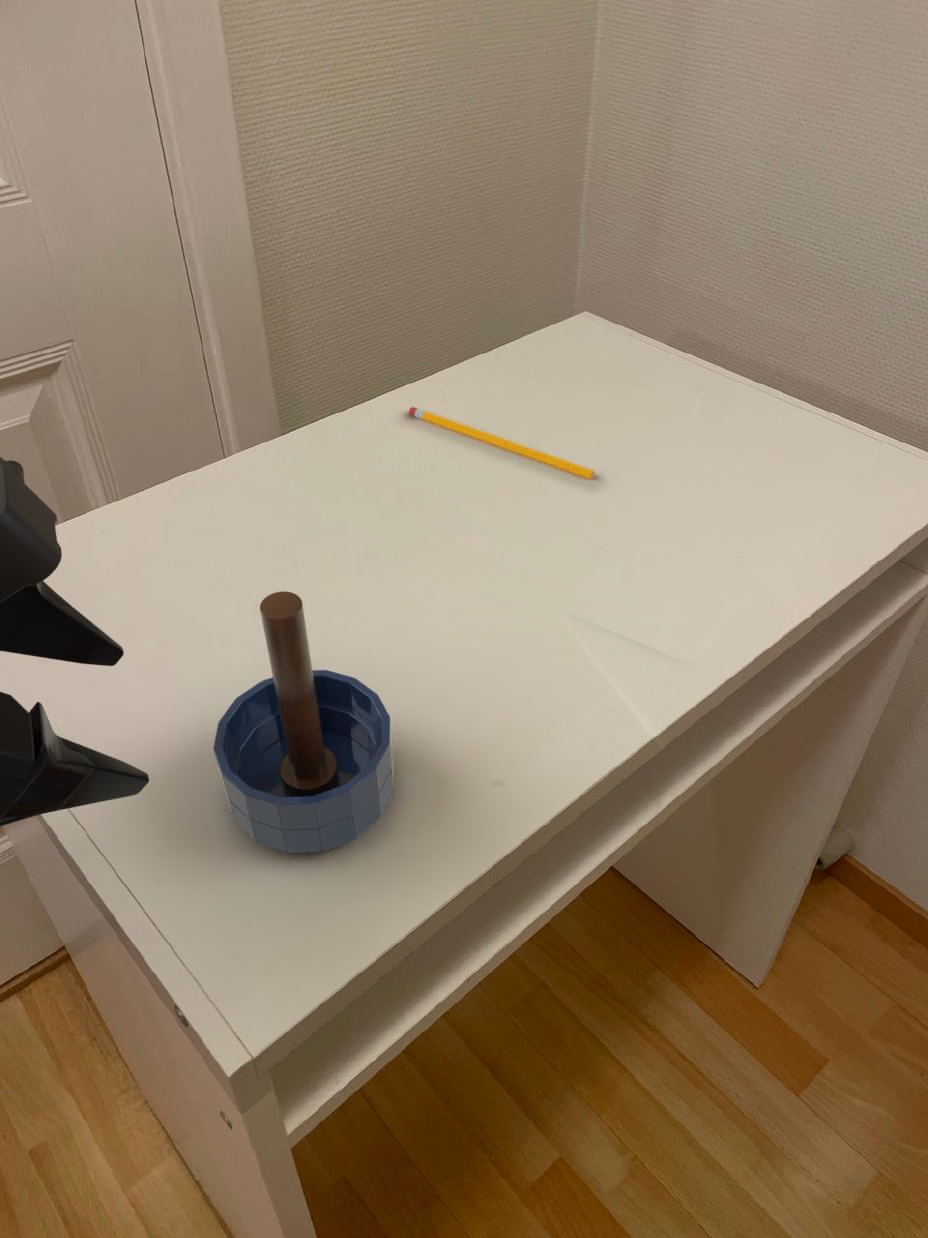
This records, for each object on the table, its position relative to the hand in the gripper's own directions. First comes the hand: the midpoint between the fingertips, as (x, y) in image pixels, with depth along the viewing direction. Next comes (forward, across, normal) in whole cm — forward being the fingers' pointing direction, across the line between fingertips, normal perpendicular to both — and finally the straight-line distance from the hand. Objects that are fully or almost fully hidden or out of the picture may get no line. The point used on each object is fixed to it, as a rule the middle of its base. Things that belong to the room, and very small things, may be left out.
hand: (130, 716), depth 47 cm
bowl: (+12, 0, 0) cm, 12 cm away
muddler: (+12, 0, 0) cm, 12 cm away
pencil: (+28, +29, -18) cm, 44 cm away
